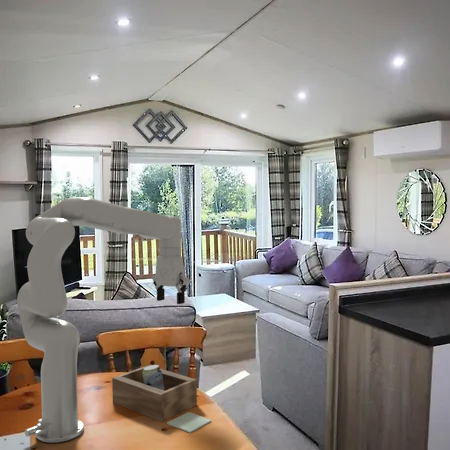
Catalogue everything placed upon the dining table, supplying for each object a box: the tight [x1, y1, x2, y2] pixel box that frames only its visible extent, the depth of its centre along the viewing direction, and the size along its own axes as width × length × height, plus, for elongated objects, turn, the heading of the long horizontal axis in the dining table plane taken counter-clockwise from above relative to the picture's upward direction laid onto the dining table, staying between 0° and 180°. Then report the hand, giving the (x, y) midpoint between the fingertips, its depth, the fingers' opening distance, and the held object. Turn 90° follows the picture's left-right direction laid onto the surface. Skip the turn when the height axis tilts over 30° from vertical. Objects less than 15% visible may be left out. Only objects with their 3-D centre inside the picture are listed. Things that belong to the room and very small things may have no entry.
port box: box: [111, 364, 198, 423], centre depth 152 cm, size 15×22×8 cm
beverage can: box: [142, 364, 165, 391], centre depth 152 cm, size 6×7×12 cm
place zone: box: [166, 411, 212, 434], centre depth 139 cm, size 9×9×1 cm
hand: (170, 301), depth 165 cm, fingers open, 9 cm apart
